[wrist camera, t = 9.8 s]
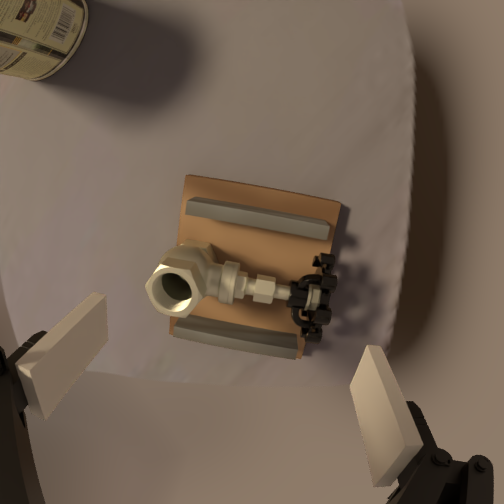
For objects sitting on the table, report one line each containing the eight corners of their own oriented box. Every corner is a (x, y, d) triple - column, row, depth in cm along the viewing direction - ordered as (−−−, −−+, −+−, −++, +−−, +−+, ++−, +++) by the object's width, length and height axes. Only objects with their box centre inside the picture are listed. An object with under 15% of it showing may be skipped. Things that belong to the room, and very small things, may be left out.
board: (189, 174, 25) (176, 177, 22) (338, 201, 25) (348, 208, 22) (172, 327, 29) (160, 348, 26) (300, 351, 29) (302, 375, 26)
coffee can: (16, 21, 21) (-70, -7, 8) (89, -22, 20) (8, -80, 6) (15, 97, 24) (-89, 90, 10) (91, 57, 23) (-17, 14, 9)
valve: (168, 292, 27) (308, 318, 27) (140, 330, 21) (317, 363, 20) (175, 216, 25) (327, 242, 25) (144, 235, 19) (344, 271, 19)
